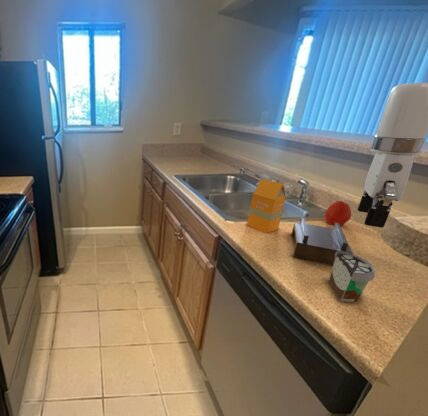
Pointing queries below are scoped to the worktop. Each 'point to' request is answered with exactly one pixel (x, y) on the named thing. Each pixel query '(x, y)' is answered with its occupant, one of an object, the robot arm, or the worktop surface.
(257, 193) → the orange juice
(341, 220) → the apple
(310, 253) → the dark wooden tray
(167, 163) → the worktop surface
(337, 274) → the food container
